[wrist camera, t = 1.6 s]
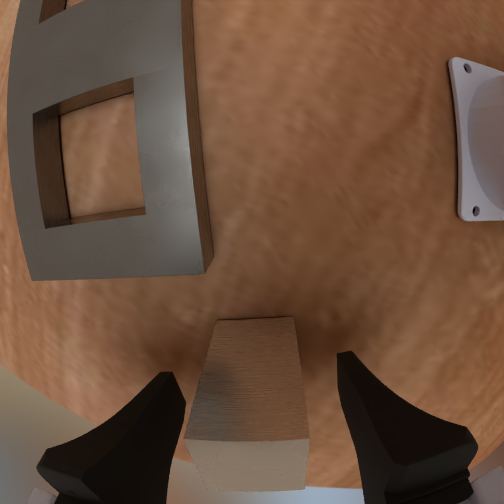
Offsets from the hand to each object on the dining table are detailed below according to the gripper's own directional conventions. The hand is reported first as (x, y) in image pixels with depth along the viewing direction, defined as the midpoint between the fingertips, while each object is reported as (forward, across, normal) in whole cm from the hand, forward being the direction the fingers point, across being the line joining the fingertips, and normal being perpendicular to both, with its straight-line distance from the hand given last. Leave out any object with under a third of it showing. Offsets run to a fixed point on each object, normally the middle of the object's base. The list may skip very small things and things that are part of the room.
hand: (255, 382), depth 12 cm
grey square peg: (+2, 0, 0) cm, 2 cm away
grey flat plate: (+2, +4, -16) cm, 16 cm away
